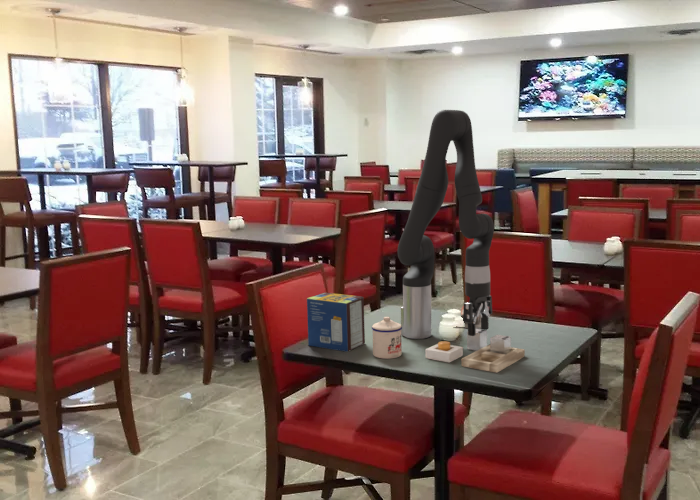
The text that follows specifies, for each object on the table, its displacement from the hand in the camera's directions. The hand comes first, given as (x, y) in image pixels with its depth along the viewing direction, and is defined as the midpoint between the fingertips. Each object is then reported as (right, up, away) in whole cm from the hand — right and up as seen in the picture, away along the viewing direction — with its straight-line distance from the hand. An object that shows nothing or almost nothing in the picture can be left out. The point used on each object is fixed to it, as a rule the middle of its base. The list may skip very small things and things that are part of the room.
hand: (478, 332), depth 219 cm
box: (-11, -7, -7) cm, 15 cm away
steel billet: (0, -6, +1) cm, 6 cm away
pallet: (+2, -7, -12) cm, 14 cm away
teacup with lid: (-27, -7, -1) cm, 28 cm away
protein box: (-43, -5, +10) cm, 45 cm away
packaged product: (+3, -1, +36) cm, 36 cm away
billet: (+5, -6, -9) cm, 12 cm away
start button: (-11, -4, -7) cm, 14 cm away
